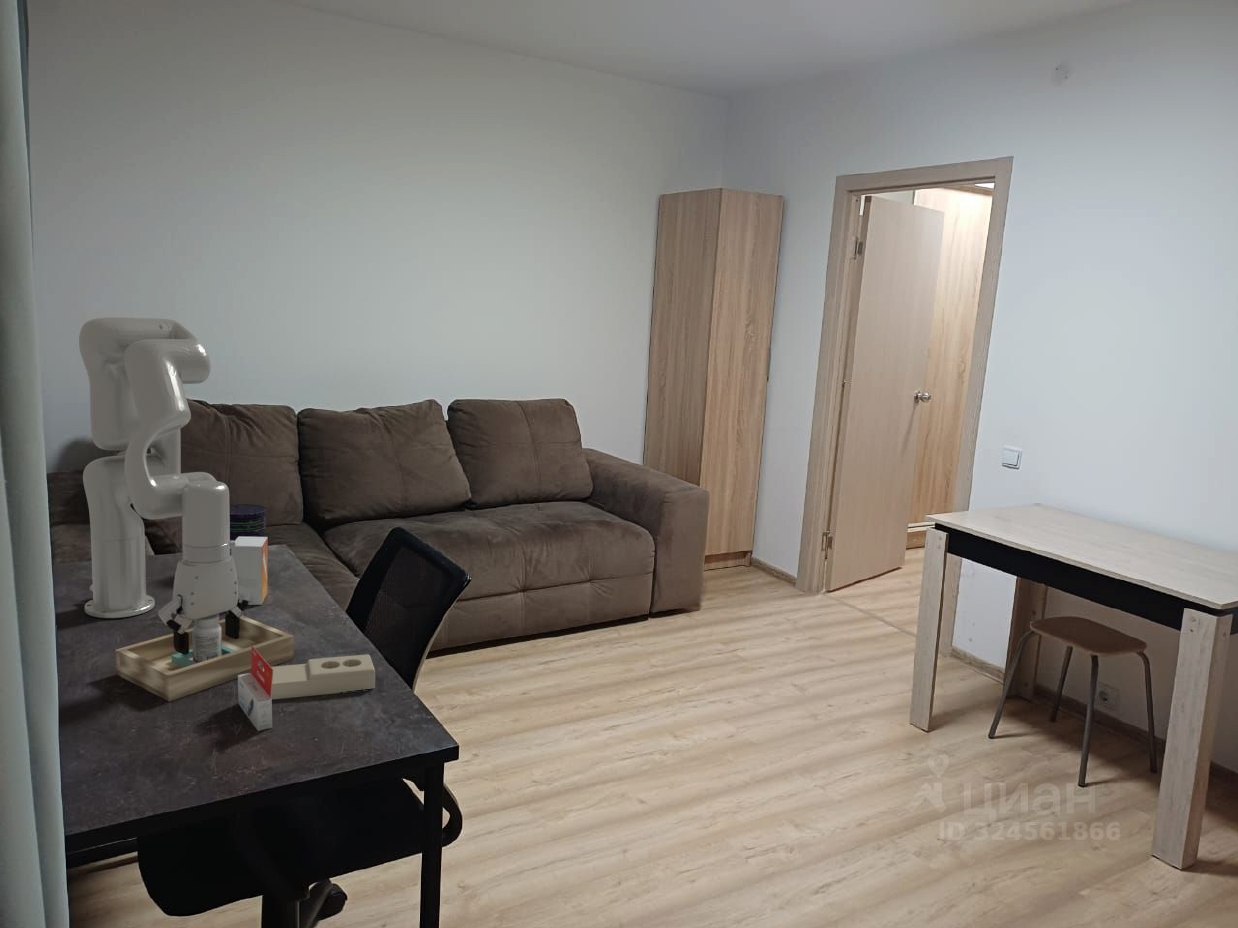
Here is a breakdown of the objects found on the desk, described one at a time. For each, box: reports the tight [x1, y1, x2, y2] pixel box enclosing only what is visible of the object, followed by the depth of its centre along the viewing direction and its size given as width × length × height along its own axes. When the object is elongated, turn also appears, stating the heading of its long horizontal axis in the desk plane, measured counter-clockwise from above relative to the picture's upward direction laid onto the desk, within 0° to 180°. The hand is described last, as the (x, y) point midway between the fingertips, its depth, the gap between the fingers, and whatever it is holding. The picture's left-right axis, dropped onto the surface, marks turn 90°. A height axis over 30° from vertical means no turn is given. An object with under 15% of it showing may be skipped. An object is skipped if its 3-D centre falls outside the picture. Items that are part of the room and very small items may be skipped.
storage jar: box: [229, 503, 267, 555], centre depth 216 cm, size 10×10×15 cm
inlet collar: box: [171, 645, 235, 667], centre depth 163 cm, size 8×8×1 cm
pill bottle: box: [192, 614, 222, 663], centre depth 163 cm, size 5×5×8 cm
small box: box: [231, 536, 269, 606], centre depth 197 cm, size 8×6×13 cm
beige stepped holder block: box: [263, 654, 376, 700], centre depth 159 cm, size 7×4×18 cm
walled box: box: [115, 615, 295, 702], centre depth 163 cm, size 16×24×4 cm, turn 147°
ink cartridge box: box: [237, 646, 273, 732], centre depth 146 cm, size 2×11×10 cm, turn 37°
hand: (207, 644), depth 163 cm, fingers open, 9 cm apart
